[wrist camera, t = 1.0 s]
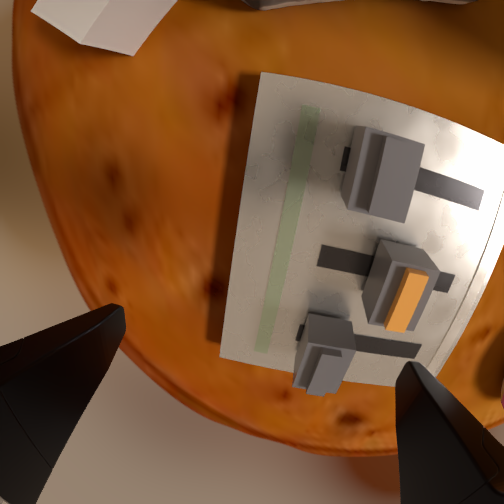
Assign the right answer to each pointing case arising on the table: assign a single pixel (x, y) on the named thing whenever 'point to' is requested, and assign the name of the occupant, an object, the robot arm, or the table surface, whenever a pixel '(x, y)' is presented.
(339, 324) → the breaker
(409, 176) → the block
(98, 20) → the white cube
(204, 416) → the table surface
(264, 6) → the black sponge
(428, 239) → the panel
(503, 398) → the donut
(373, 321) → the breaker
